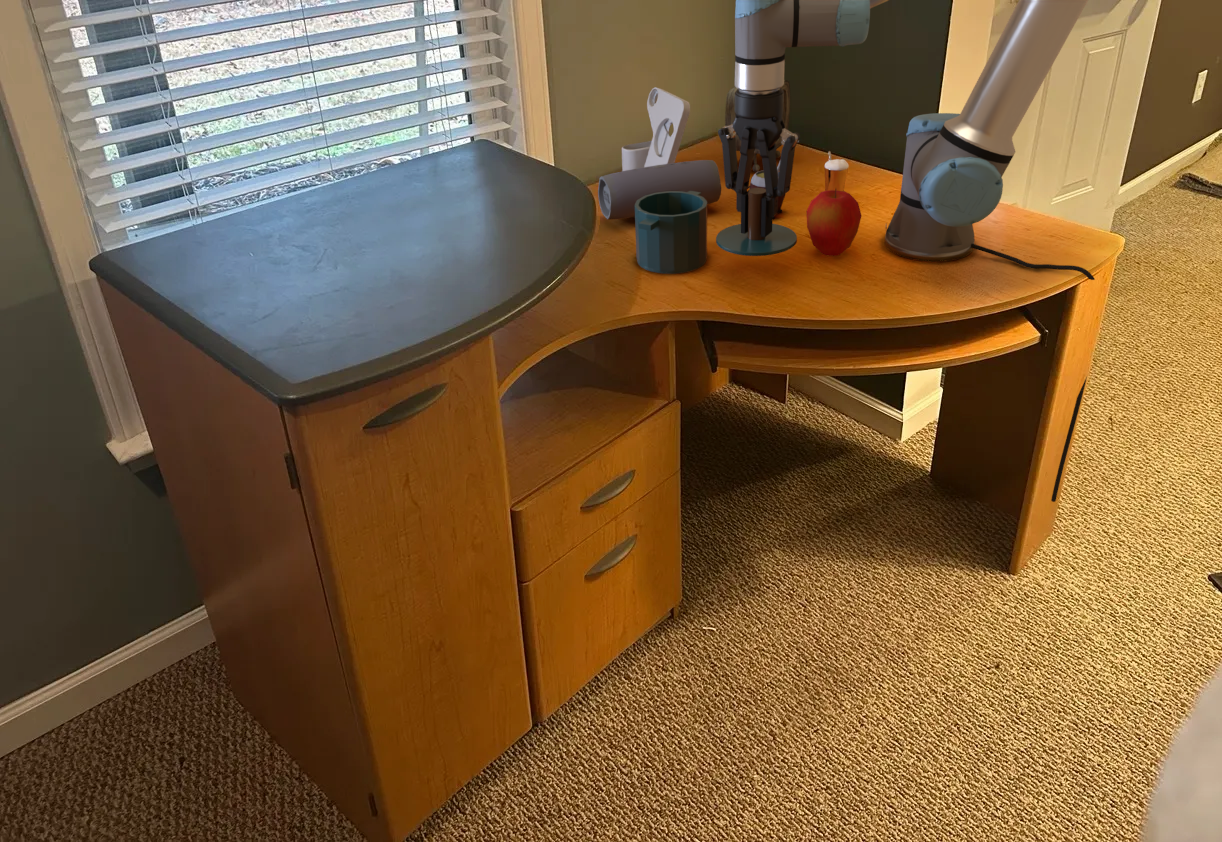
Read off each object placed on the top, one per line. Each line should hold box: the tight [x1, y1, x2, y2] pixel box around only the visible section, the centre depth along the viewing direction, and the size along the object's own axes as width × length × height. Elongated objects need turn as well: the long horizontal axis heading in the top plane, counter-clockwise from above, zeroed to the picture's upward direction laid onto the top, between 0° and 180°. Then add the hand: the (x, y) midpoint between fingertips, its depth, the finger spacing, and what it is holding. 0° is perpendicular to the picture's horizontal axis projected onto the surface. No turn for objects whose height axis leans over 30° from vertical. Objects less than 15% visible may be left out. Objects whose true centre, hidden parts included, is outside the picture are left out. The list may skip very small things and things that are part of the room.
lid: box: [715, 188, 798, 257], centre depth 163 cm, size 13×13×9 cm
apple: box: [805, 189, 862, 257], centre depth 172 cm, size 9×9×12 cm
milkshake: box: [824, 150, 850, 191], centre depth 193 cm, size 4×5×10 cm
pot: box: [634, 191, 708, 275], centre depth 173 cm, size 12×18×10 cm
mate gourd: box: [749, 140, 800, 220], centre depth 189 cm, size 8×8×15 cm
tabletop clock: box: [724, 79, 791, 173], centre depth 213 cm, size 14×9×25 cm, turn 147°
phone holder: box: [621, 87, 691, 172], centre depth 207 cm, size 17×10×18 cm, turn 23°
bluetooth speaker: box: [597, 159, 722, 220], centre depth 192 cm, size 23×9×10 cm, turn 108°
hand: (756, 232), depth 164 cm, fingers closed on lid, 3 cm apart
